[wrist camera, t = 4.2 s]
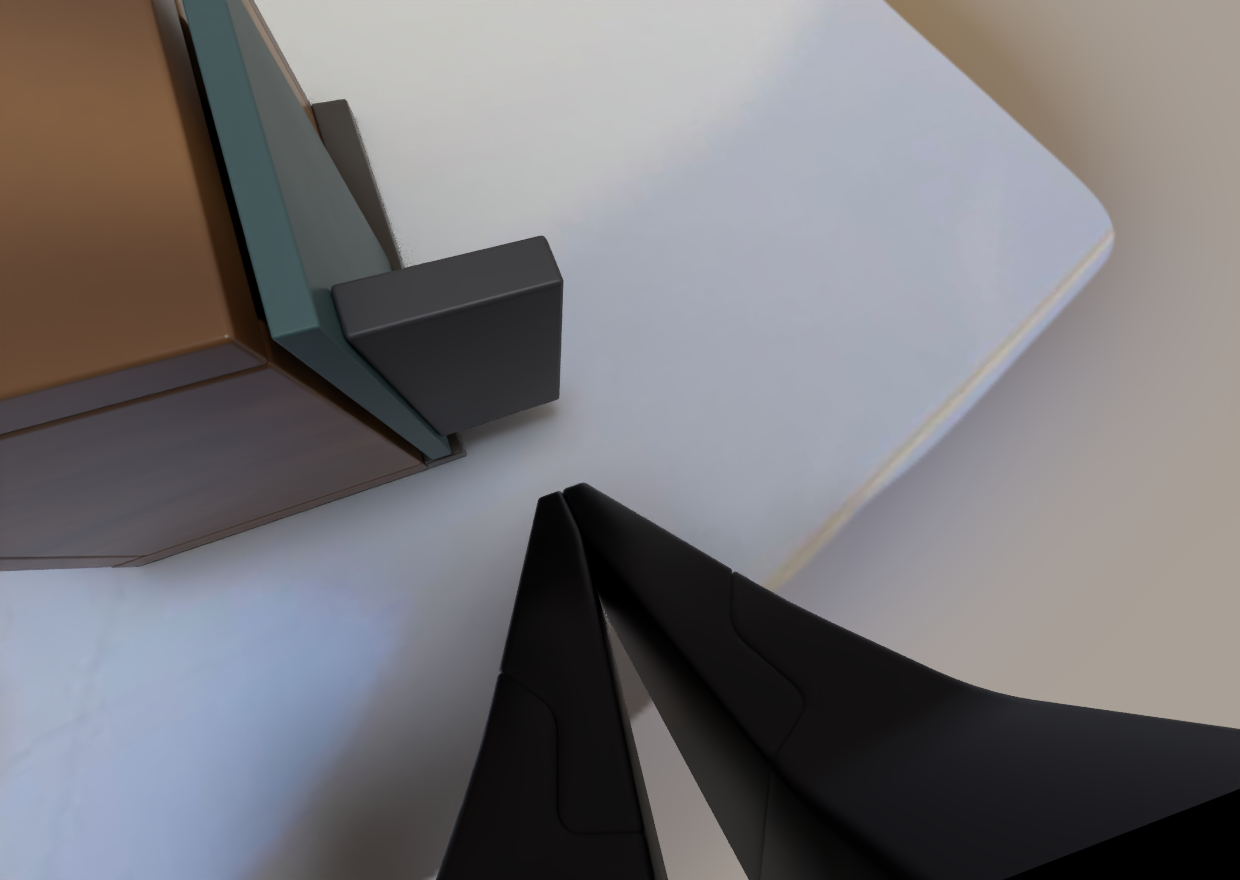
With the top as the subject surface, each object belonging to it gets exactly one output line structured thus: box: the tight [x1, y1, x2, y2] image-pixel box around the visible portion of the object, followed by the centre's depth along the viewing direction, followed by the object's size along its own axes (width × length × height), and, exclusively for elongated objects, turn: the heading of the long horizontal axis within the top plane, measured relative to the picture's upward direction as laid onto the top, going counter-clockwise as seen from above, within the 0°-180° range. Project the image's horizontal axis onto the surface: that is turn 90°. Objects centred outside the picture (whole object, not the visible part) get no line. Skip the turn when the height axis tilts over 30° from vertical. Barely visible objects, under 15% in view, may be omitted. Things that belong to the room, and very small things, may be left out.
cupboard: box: [0, 0, 466, 571], centre depth 10 cm, size 14×9×9 cm, turn 22°
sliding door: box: [182, 0, 563, 460], centre depth 11 cm, size 7×4×8 cm, turn 22°
